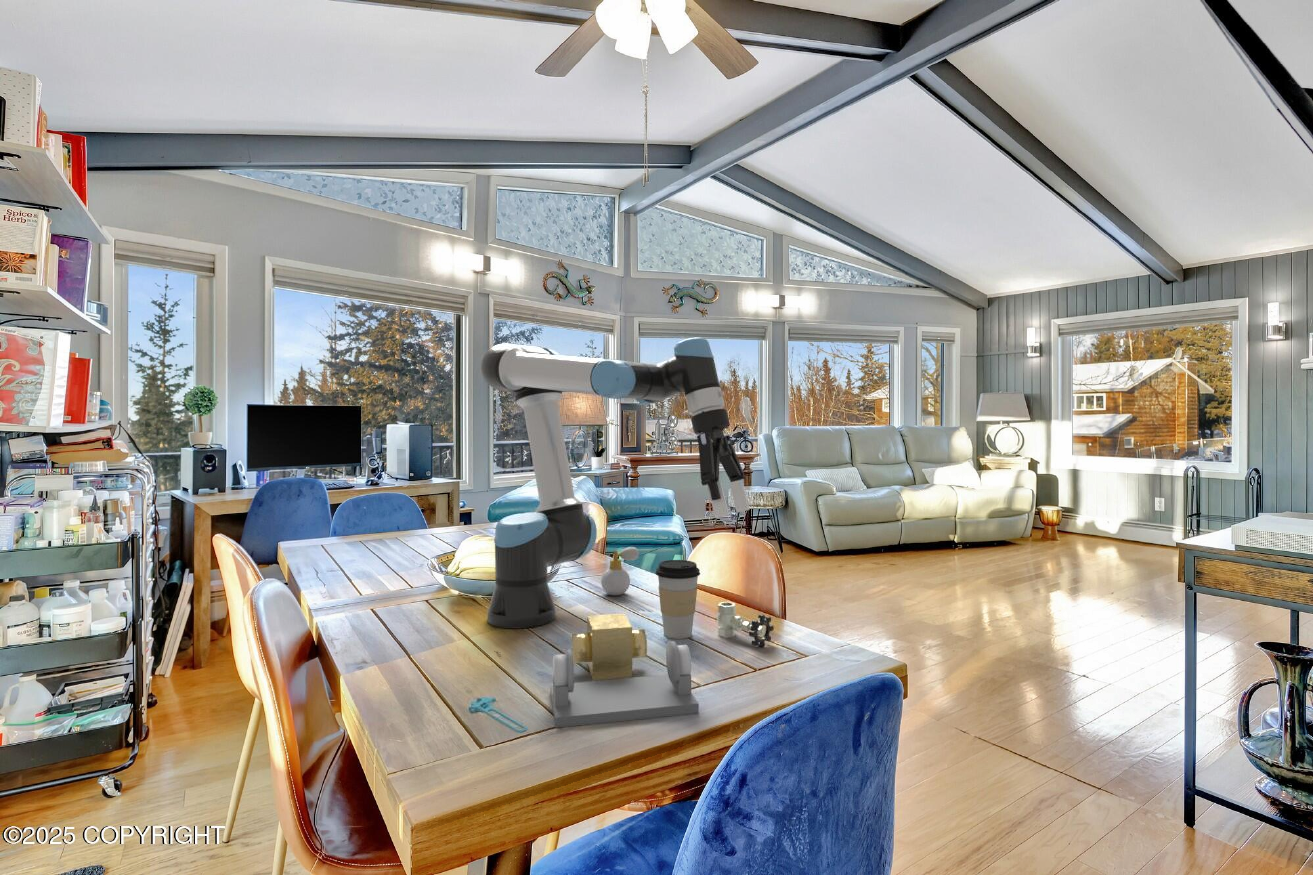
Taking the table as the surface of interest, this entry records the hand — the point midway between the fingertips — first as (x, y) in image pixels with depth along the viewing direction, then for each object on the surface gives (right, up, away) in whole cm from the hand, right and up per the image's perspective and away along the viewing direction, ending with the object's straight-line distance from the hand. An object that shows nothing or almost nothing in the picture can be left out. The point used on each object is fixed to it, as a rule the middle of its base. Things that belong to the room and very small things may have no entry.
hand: (733, 514), depth 129 cm
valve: (+2, -27, +4) cm, 27 cm away
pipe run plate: (-21, -27, -26) cm, 43 cm away
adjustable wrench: (-40, -28, -30) cm, 57 cm away
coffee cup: (-11, -27, +7) cm, 29 cm away
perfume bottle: (-25, -26, +39) cm, 53 cm away
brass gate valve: (-24, -27, -12) cm, 38 cm away
